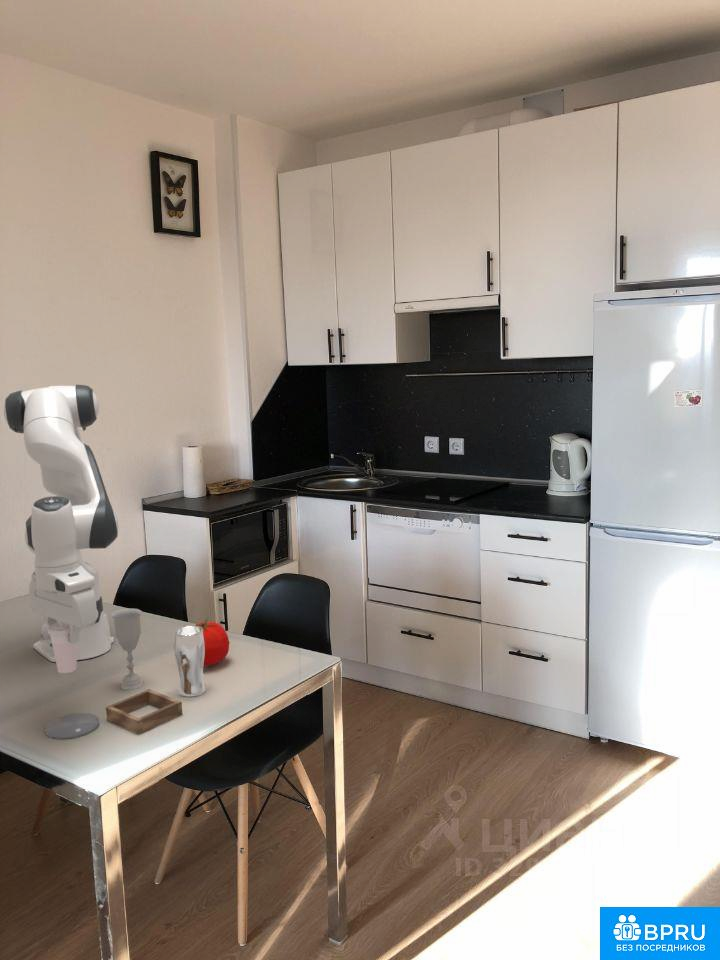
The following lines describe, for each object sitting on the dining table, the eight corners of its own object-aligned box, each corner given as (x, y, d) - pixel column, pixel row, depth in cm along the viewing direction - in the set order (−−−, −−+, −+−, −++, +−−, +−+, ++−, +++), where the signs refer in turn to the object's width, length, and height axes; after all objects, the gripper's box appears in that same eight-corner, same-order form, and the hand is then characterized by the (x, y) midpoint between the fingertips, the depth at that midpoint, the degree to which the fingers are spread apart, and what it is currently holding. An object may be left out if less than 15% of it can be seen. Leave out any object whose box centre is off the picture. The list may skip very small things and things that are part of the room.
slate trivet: (35, 729, 176) (35, 727, 176) (81, 711, 184) (80, 708, 184) (63, 744, 169) (63, 741, 169) (109, 724, 178) (109, 721, 177)
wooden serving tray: (106, 720, 180) (105, 707, 179) (150, 701, 188) (149, 689, 188) (139, 734, 172) (137, 721, 172) (182, 714, 181) (181, 701, 181)
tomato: (222, 652, 217) (219, 612, 215) (236, 667, 207) (234, 624, 205) (177, 661, 212) (174, 620, 210) (190, 677, 201) (187, 633, 200)
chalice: (152, 684, 198) (147, 612, 195) (127, 693, 193) (121, 620, 190) (136, 676, 203) (131, 606, 200) (111, 685, 198) (105, 613, 195)
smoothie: (58, 664, 178) (53, 601, 176) (87, 664, 178) (82, 601, 175) (46, 675, 172) (40, 611, 169) (76, 675, 171) (70, 611, 169)
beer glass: (175, 688, 195) (171, 628, 193) (204, 683, 197) (200, 623, 195) (179, 700, 189) (175, 637, 186) (210, 694, 191) (206, 632, 189)
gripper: (18, 571, 175) (24, 633, 178) (72, 587, 163) (78, 653, 165) (45, 564, 180) (51, 625, 182) (99, 579, 167) (105, 644, 170)
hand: (64, 639), depth 174 cm, fingers closed on smoothie, 6 cm apart
